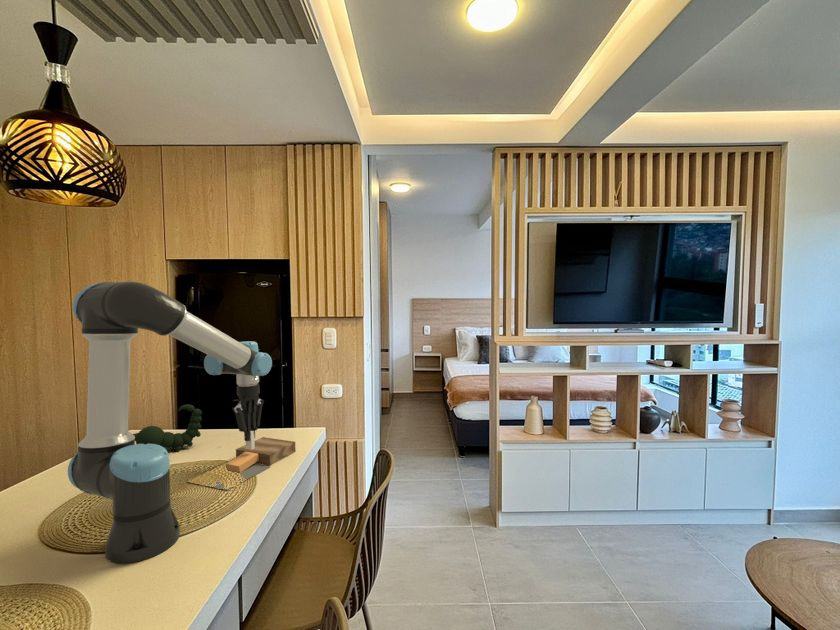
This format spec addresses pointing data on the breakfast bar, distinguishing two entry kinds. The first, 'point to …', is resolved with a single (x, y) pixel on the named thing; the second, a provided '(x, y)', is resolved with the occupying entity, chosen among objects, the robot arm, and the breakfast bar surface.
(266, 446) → the walnut deck
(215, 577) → the breakfast bar surface
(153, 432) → the toy figurine
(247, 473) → the charcoal mat
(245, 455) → the orange brown block
